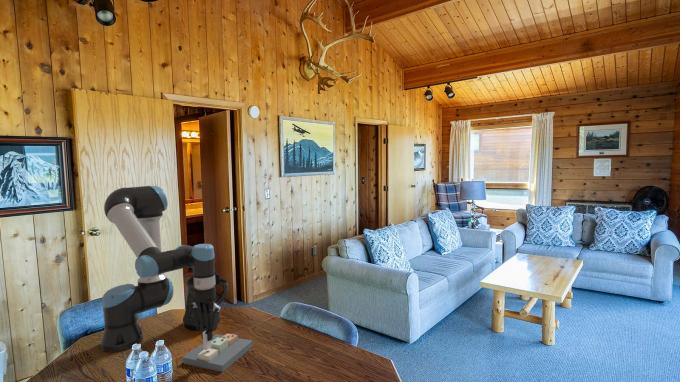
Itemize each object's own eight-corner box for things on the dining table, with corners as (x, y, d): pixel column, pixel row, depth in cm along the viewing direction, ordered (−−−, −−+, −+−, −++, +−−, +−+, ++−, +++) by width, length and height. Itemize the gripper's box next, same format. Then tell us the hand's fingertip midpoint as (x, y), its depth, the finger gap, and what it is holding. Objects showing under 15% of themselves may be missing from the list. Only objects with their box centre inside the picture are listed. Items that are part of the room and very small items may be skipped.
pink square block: (219, 347, 147) (219, 338, 147) (227, 341, 152) (227, 332, 151) (230, 349, 145) (229, 340, 145) (237, 343, 150) (237, 334, 150)
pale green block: (209, 351, 141) (208, 342, 141) (217, 345, 146) (217, 336, 146) (220, 354, 140) (219, 344, 139) (228, 347, 144) (228, 338, 144)
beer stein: (177, 323, 171) (174, 271, 169) (217, 311, 184) (215, 262, 182) (191, 335, 159) (188, 279, 157) (233, 321, 172) (230, 269, 170)
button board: (182, 363, 137) (182, 357, 137) (216, 339, 155) (216, 334, 155) (222, 372, 131) (222, 365, 131) (252, 346, 149) (252, 340, 148)
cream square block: (198, 363, 136) (198, 353, 135) (207, 356, 140) (207, 346, 140) (209, 365, 134) (209, 355, 134) (218, 358, 139) (218, 349, 138)
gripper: (183, 288, 134) (186, 350, 136) (212, 292, 129) (215, 356, 131) (197, 281, 141) (200, 340, 143) (226, 285, 136) (228, 346, 138)
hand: (207, 348), depth 137 cm, fingers closed
